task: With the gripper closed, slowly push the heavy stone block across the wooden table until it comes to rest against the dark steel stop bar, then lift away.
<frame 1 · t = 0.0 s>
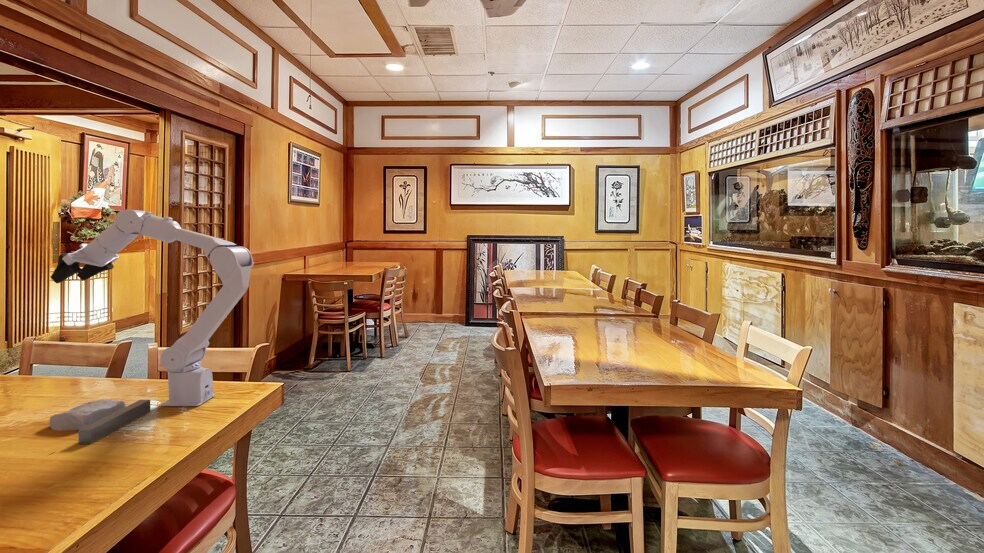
hand: (68, 278, 116), 32 cm above the table, tool tilted 50°, fingers open, 7 cm apart
stone block: (87, 422, 107), on the table
stop bar: (117, 426, 104), on the table
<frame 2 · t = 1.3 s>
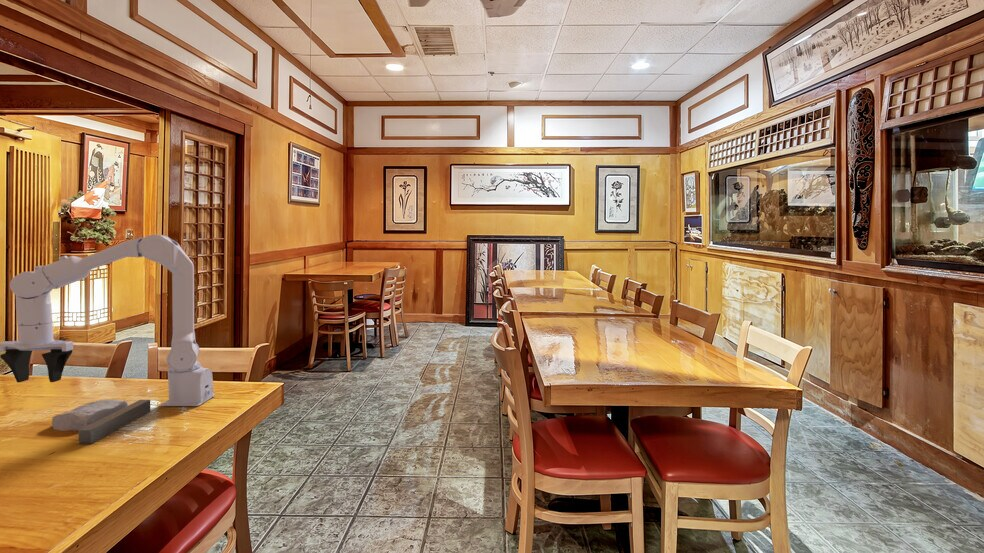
hand: (39, 381, 106), 9 cm above the table, tool pointing down, fingers open, 7 cm apart
nothing on the table moved.
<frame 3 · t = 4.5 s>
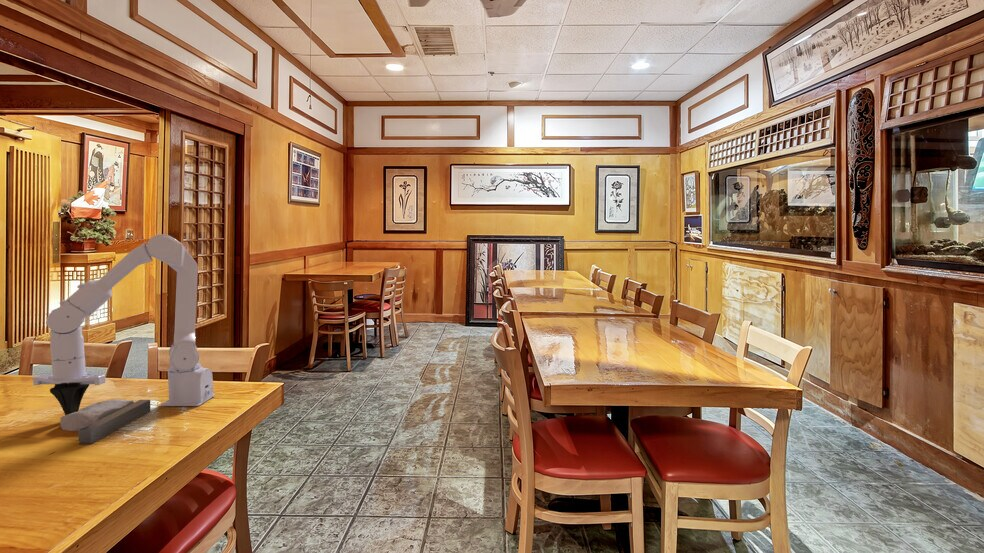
hand: (71, 414, 107), 1 cm above the table, tool pointing down, fingers closed
stone block: (97, 422, 107), on the table, touching gripper
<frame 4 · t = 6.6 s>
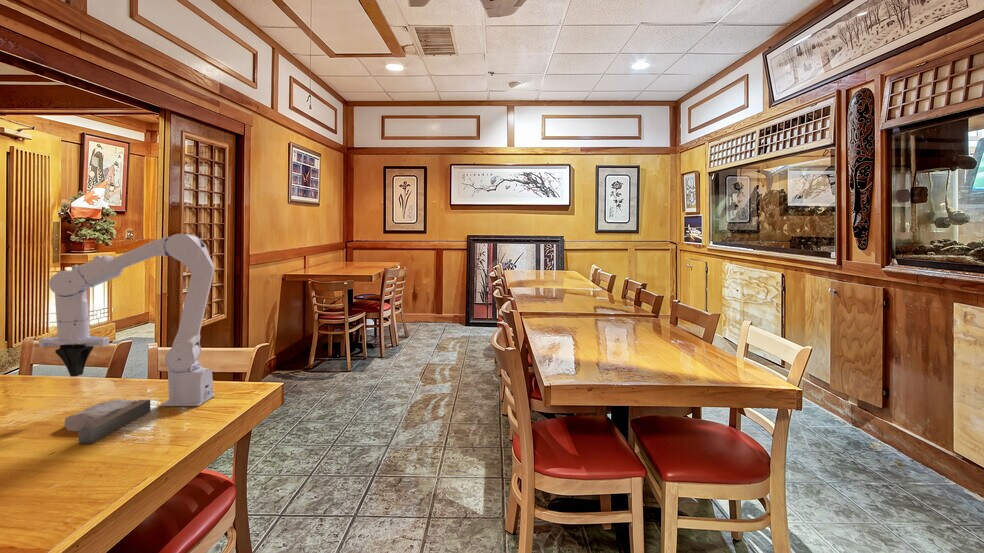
hand: (76, 375, 111), 9 cm above the table, tool pointing down, fingers closed
stone block: (101, 422, 107), on the table
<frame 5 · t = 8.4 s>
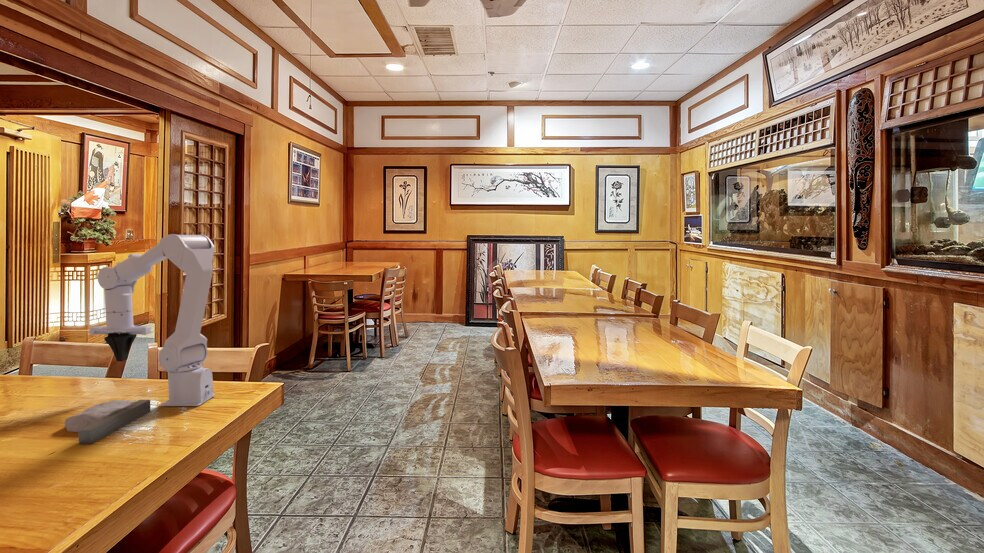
hand: (122, 360, 124), 9 cm above the table, tool pointing down, fingers closed
nothing on the table moved.
at the end: stone block 0.9 cm from the target spot, on the table; stone block moved 4.1 cm from its start; stone block tilted 0° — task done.
